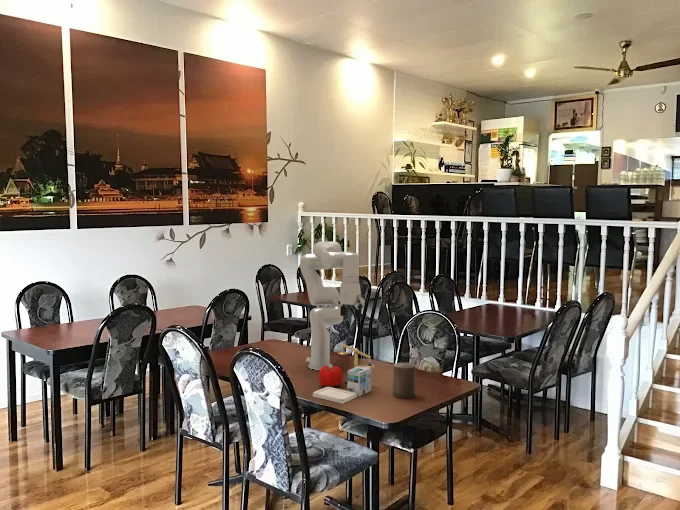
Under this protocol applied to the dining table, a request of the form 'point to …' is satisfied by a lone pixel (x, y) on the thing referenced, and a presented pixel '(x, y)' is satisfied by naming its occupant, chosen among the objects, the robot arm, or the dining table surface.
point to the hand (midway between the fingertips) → (350, 316)
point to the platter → (335, 395)
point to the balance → (356, 357)
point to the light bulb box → (359, 380)
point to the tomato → (330, 376)
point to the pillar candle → (404, 380)
